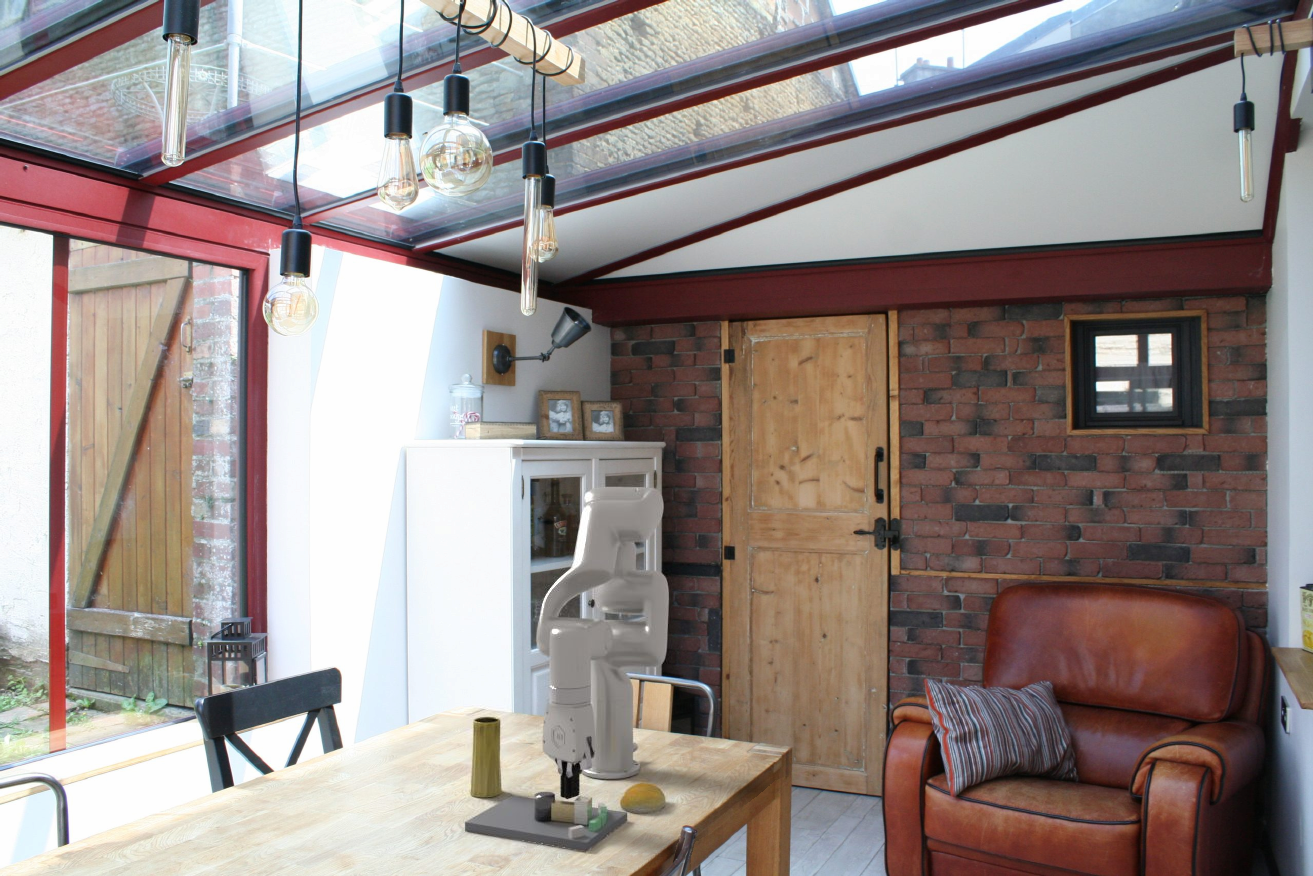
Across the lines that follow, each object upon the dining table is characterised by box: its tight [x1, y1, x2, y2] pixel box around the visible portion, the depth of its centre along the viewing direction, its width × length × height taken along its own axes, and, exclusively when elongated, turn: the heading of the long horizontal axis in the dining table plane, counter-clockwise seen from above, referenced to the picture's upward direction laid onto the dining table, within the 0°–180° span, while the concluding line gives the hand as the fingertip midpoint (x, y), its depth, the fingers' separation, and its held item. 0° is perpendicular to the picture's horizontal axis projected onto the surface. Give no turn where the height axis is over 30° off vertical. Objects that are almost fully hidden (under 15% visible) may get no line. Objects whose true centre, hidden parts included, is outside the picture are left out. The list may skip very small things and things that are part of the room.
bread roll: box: [619, 782, 666, 815], centre depth 185 cm, size 8×9×4 cm
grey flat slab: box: [464, 795, 628, 852], centre depth 175 cm, size 16×24×3 cm, turn 67°
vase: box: [470, 716, 503, 799], centre depth 193 cm, size 6×6×14 cm
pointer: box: [534, 791, 593, 825], centre depth 173 cm, size 10×4×4 cm, turn 74°
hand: (570, 796), depth 178 cm, fingers closed
